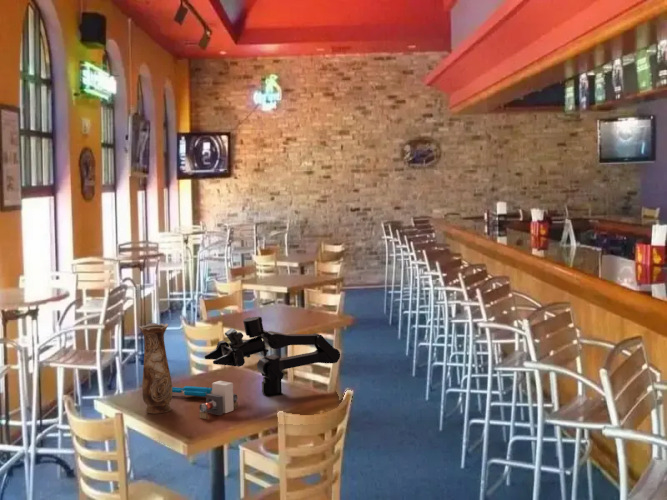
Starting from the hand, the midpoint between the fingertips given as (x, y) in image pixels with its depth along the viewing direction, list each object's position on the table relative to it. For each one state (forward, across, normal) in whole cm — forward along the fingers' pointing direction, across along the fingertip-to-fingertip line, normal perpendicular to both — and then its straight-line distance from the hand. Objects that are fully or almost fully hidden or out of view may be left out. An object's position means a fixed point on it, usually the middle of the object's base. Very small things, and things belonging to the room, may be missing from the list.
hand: (208, 360), depth 289 cm
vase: (+22, 0, +12) cm, 25 cm away
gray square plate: (+6, +14, +15) cm, 22 cm away
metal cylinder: (+4, +14, +15) cm, 21 cm away
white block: (+2, +12, +15) cm, 20 cm away
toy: (+6, -10, +15) cm, 19 cm away
